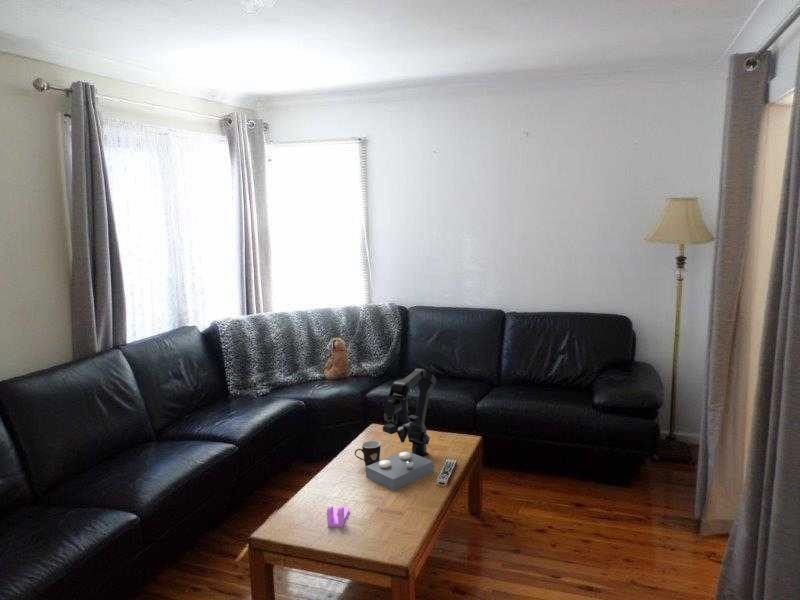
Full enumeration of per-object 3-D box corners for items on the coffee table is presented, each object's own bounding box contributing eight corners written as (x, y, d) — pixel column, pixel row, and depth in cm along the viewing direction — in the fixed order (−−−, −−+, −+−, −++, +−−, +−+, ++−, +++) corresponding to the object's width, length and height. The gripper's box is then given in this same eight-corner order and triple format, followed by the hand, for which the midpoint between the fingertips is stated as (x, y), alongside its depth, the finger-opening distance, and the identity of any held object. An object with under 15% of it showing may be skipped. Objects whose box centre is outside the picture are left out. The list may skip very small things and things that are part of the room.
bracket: (342, 527, 218) (341, 510, 217) (327, 526, 219) (326, 509, 218) (350, 509, 231) (349, 493, 229) (336, 509, 231) (335, 492, 230)
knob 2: (405, 459, 269) (405, 450, 268) (413, 462, 265) (412, 454, 264) (397, 463, 265) (396, 454, 265) (404, 466, 261) (404, 457, 261)
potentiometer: (409, 466, 256) (409, 456, 255) (414, 468, 254) (414, 458, 253) (404, 468, 254) (404, 458, 253) (409, 470, 252) (409, 460, 251)
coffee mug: (382, 460, 274) (381, 440, 272) (380, 469, 266) (379, 448, 264) (358, 460, 275) (357, 440, 274) (354, 468, 267) (353, 447, 265)
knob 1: (385, 467, 261) (385, 458, 260) (393, 471, 257) (393, 462, 256) (376, 471, 257) (376, 462, 257) (384, 475, 253) (384, 466, 253)
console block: (405, 460, 274) (405, 450, 273) (433, 472, 261) (433, 461, 260) (366, 477, 258) (365, 466, 257) (393, 490, 245) (393, 479, 244)
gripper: (403, 400, 274) (404, 431, 277) (373, 410, 262) (375, 443, 264) (420, 405, 266) (421, 437, 269) (390, 416, 254) (392, 450, 256)
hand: (402, 442), depth 265 cm, fingers closed
